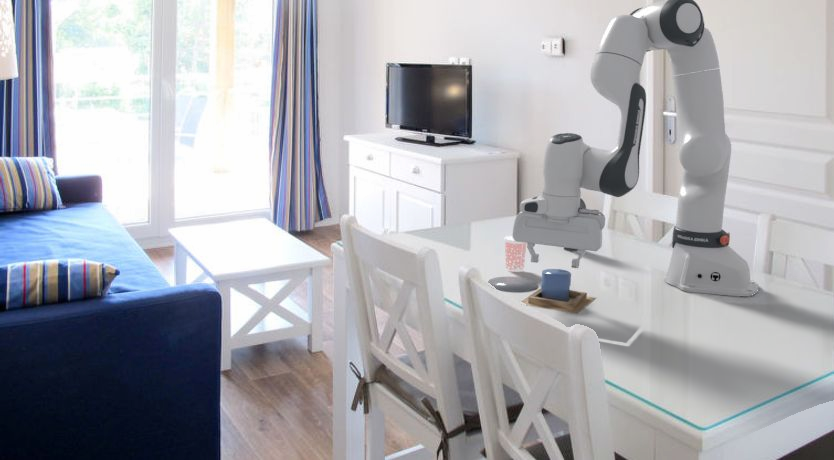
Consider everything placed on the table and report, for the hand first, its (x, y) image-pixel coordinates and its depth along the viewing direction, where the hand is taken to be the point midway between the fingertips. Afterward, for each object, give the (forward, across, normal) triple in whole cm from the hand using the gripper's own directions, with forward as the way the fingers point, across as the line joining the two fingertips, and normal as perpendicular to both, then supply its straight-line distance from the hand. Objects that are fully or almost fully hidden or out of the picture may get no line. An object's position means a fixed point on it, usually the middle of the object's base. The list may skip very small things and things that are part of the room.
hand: (554, 264), depth 204 cm
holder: (+9, -2, 0) cm, 9 cm away
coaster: (+9, +11, -8) cm, 17 cm away
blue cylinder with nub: (+8, -1, -2) cm, 9 cm away
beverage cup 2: (+9, +4, -54) cm, 55 cm away
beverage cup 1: (+10, +14, -23) cm, 29 cm away
